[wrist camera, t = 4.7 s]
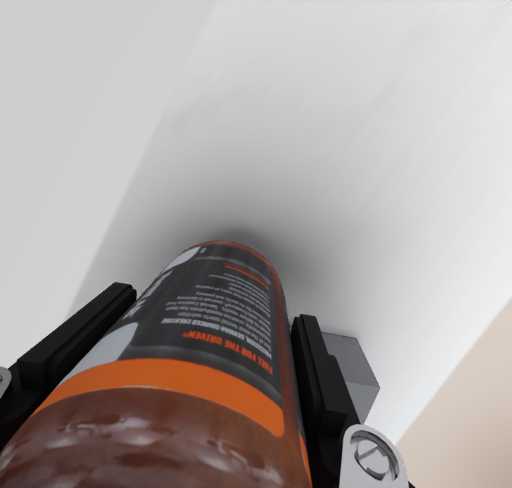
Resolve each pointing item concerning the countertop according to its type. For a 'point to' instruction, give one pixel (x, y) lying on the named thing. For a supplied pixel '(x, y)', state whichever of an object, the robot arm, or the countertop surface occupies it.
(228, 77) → the countertop surface
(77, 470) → the supplement bottle
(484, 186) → the countertop surface
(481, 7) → the countertop surface
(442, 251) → the countertop surface
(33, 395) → the robot arm
